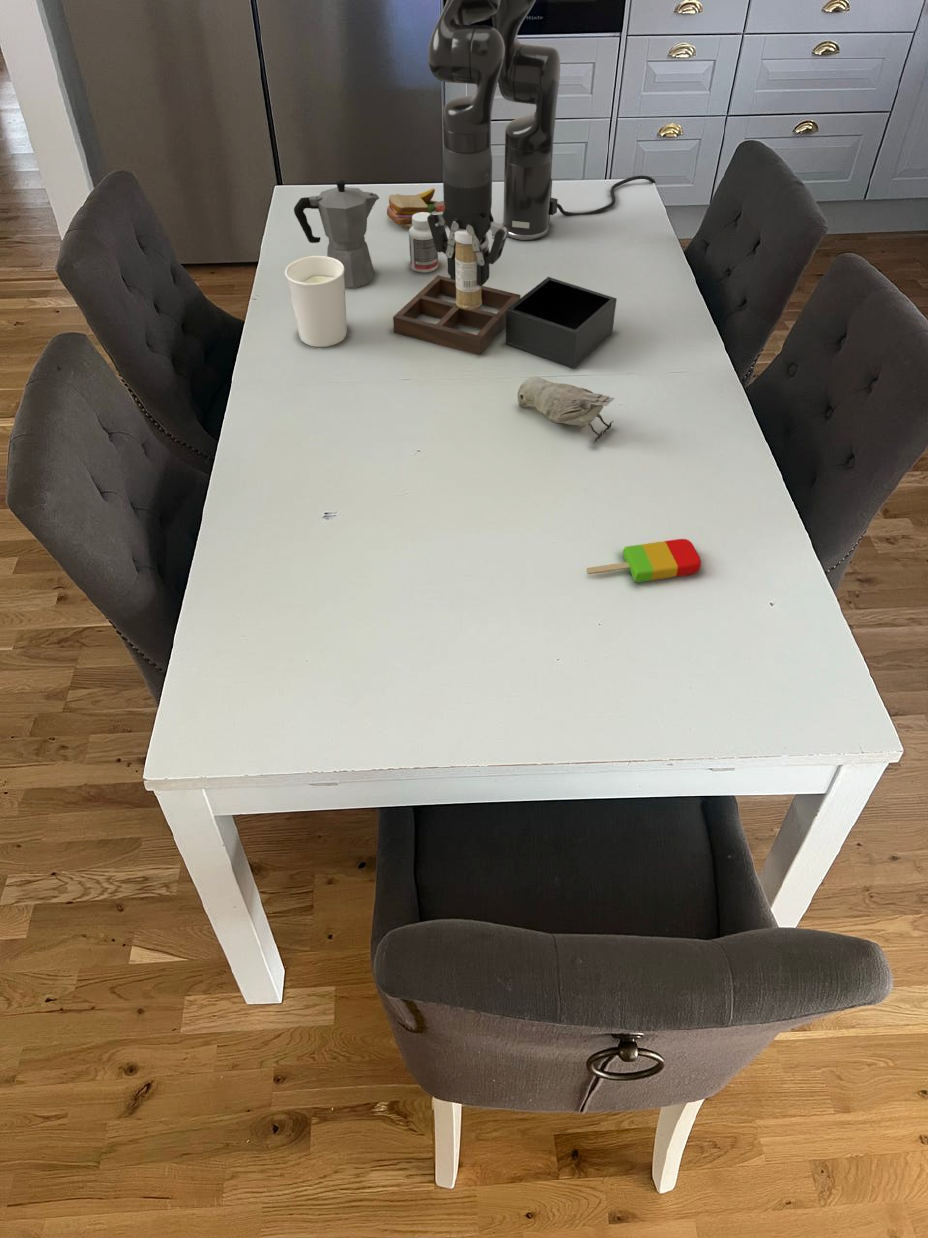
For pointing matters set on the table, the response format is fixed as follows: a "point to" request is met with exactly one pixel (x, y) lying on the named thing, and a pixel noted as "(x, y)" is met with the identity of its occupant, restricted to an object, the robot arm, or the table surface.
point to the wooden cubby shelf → (454, 317)
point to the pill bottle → (422, 245)
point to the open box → (560, 321)
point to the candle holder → (318, 299)
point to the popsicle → (656, 560)
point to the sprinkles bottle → (466, 272)
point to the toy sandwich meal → (411, 207)
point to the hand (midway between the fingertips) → (468, 279)
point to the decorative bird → (564, 402)
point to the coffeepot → (343, 228)
